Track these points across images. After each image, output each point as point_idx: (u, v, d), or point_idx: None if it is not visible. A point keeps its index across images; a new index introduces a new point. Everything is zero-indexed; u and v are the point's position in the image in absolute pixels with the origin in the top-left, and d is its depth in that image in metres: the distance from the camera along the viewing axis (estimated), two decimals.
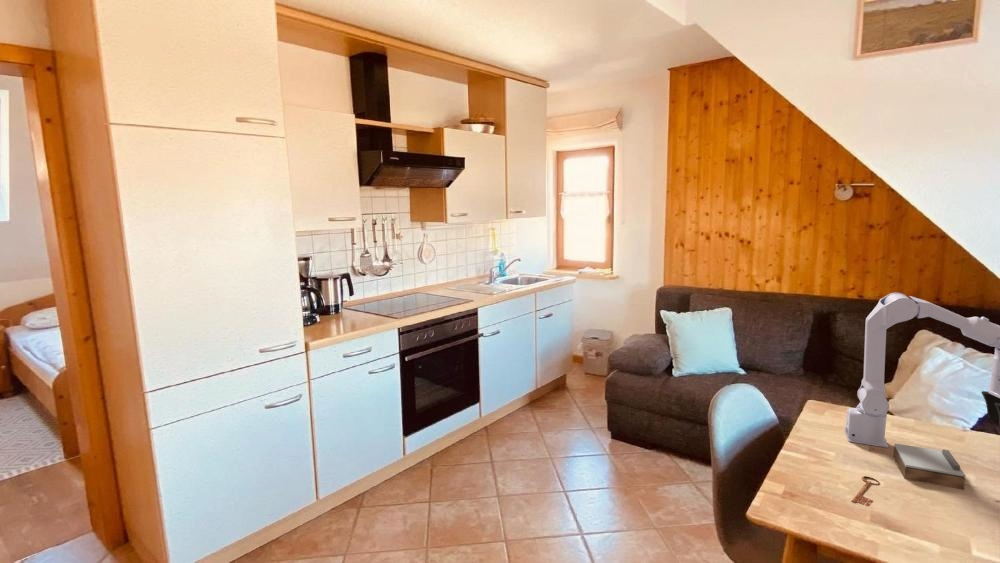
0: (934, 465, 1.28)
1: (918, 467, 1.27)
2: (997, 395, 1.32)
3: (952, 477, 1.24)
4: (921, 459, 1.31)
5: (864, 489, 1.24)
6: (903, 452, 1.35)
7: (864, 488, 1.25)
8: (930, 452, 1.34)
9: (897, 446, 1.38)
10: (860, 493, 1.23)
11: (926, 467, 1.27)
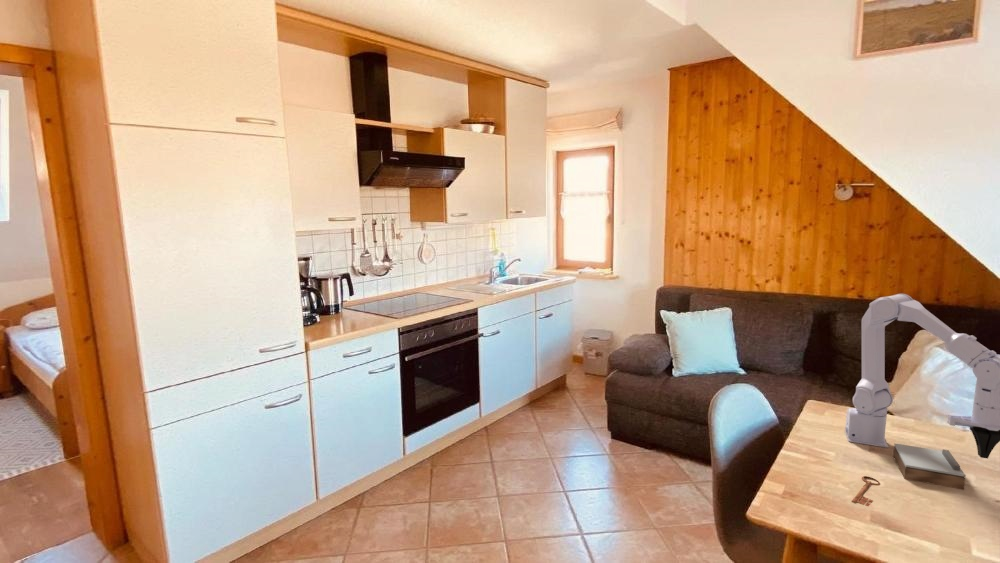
0: (934, 465, 1.28)
1: (918, 467, 1.27)
2: None
3: (952, 477, 1.24)
4: (921, 459, 1.31)
5: (864, 489, 1.24)
6: (903, 452, 1.35)
7: (864, 488, 1.25)
8: (930, 452, 1.34)
9: (897, 446, 1.38)
10: (860, 493, 1.23)
11: (926, 467, 1.27)
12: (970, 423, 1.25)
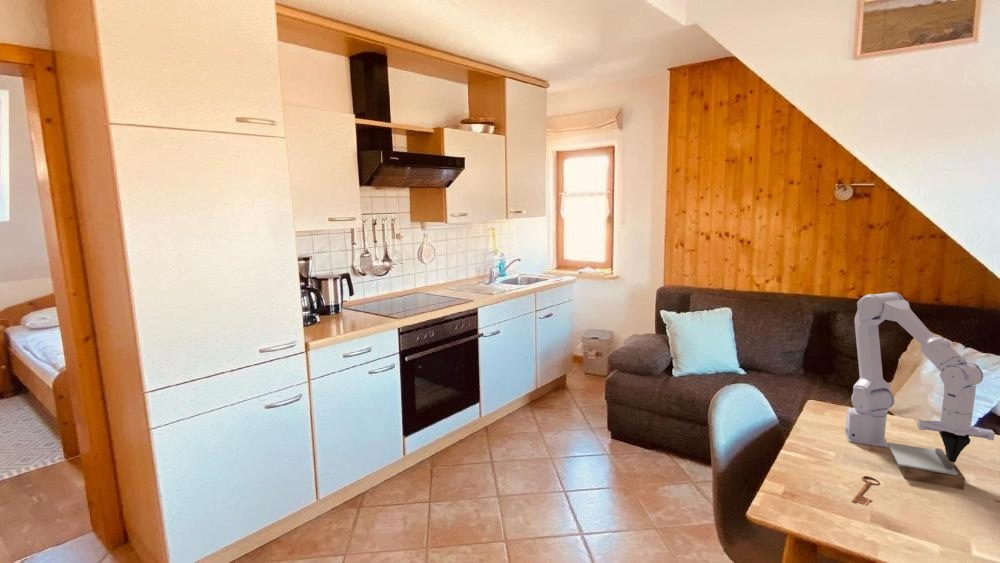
0: (927, 464, 1.28)
1: (911, 466, 1.28)
2: None
3: (952, 477, 1.24)
4: (914, 458, 1.31)
5: (864, 489, 1.24)
6: (896, 451, 1.35)
7: (864, 488, 1.25)
8: (923, 451, 1.35)
9: (891, 445, 1.38)
10: (860, 493, 1.23)
11: (919, 466, 1.28)
12: (938, 428, 1.28)
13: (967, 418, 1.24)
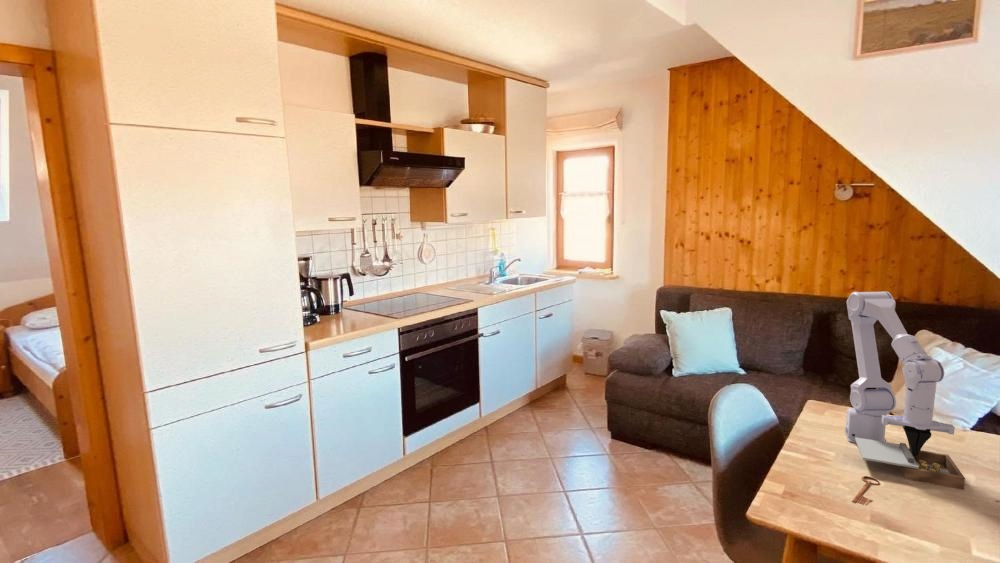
0: (890, 458, 1.32)
1: (874, 460, 1.32)
2: None
3: (952, 477, 1.24)
4: (878, 452, 1.35)
5: (864, 489, 1.24)
6: (862, 445, 1.39)
7: (864, 488, 1.25)
8: (888, 445, 1.38)
9: (857, 440, 1.42)
10: (860, 493, 1.23)
11: (882, 460, 1.31)
12: (901, 422, 1.31)
13: (928, 413, 1.28)
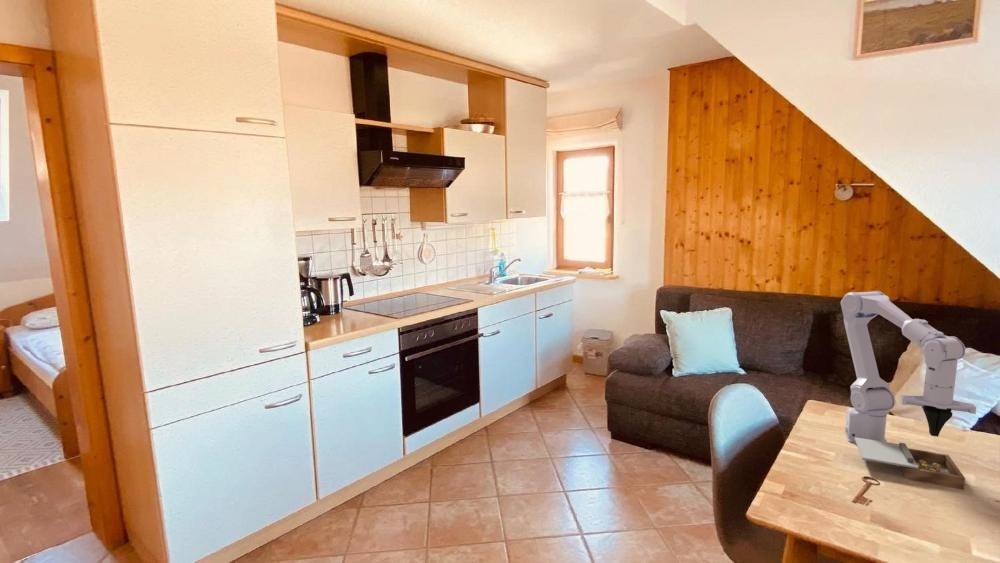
0: (889, 458, 1.32)
1: (874, 459, 1.32)
2: None
3: (952, 477, 1.24)
4: (878, 452, 1.35)
5: (864, 489, 1.24)
6: (862, 445, 1.39)
7: (864, 488, 1.25)
8: (888, 445, 1.38)
9: (857, 440, 1.42)
10: (860, 493, 1.23)
11: (881, 459, 1.31)
12: (921, 402, 1.29)
13: (949, 392, 1.25)
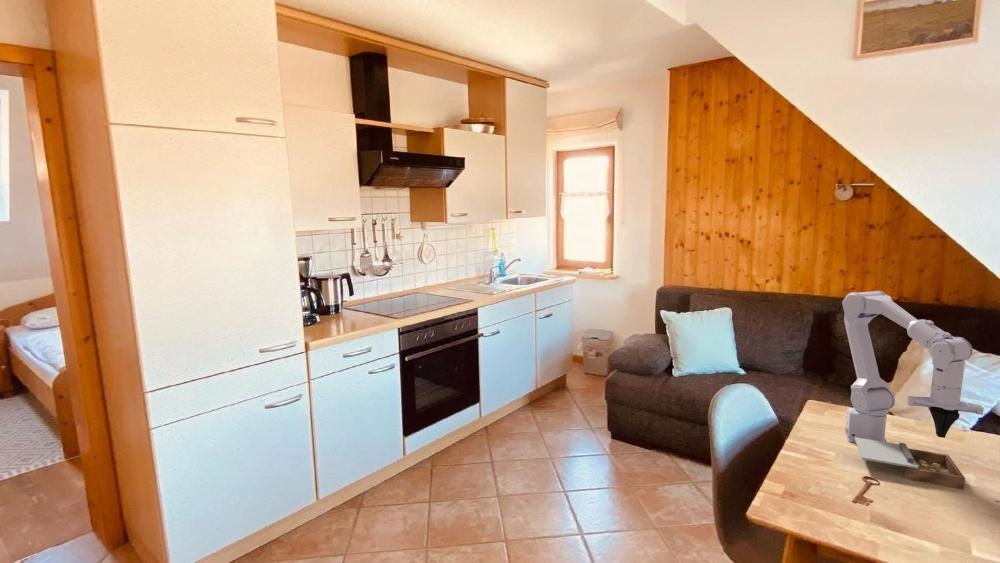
0: (889, 458, 1.32)
1: (874, 459, 1.32)
2: None
3: (952, 477, 1.24)
4: (878, 452, 1.35)
5: (864, 489, 1.24)
6: (862, 445, 1.39)
7: (864, 488, 1.25)
8: (888, 445, 1.38)
9: (857, 440, 1.42)
10: (860, 493, 1.23)
11: (881, 459, 1.31)
12: (928, 403, 1.28)
13: (956, 393, 1.25)
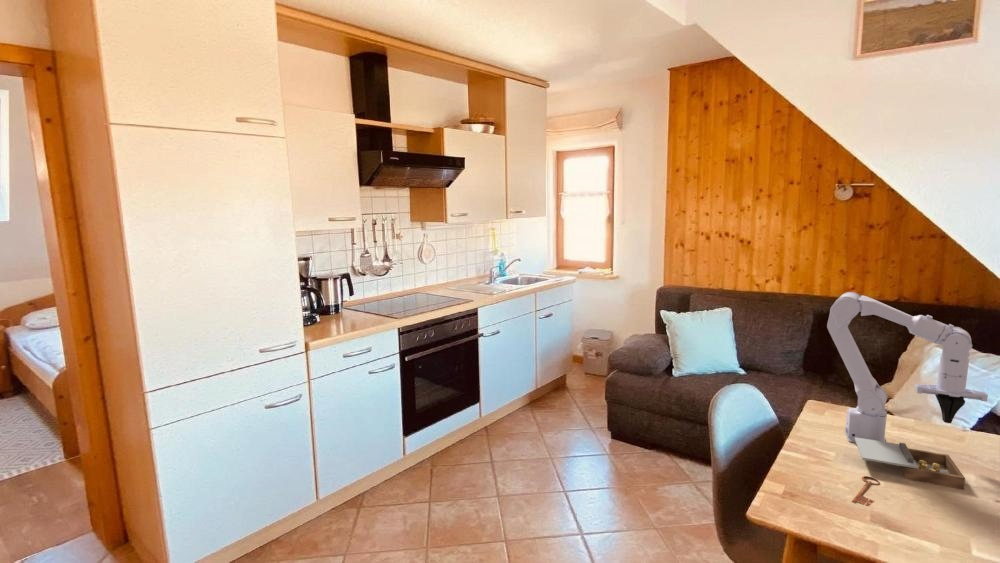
0: (889, 458, 1.32)
1: (874, 459, 1.32)
2: None
3: (952, 477, 1.24)
4: (878, 452, 1.35)
5: (864, 489, 1.24)
6: (862, 445, 1.39)
7: (864, 488, 1.25)
8: (888, 445, 1.38)
9: (857, 440, 1.42)
10: (860, 493, 1.23)
11: (881, 459, 1.31)
12: (935, 391, 1.36)
13: (962, 380, 1.32)
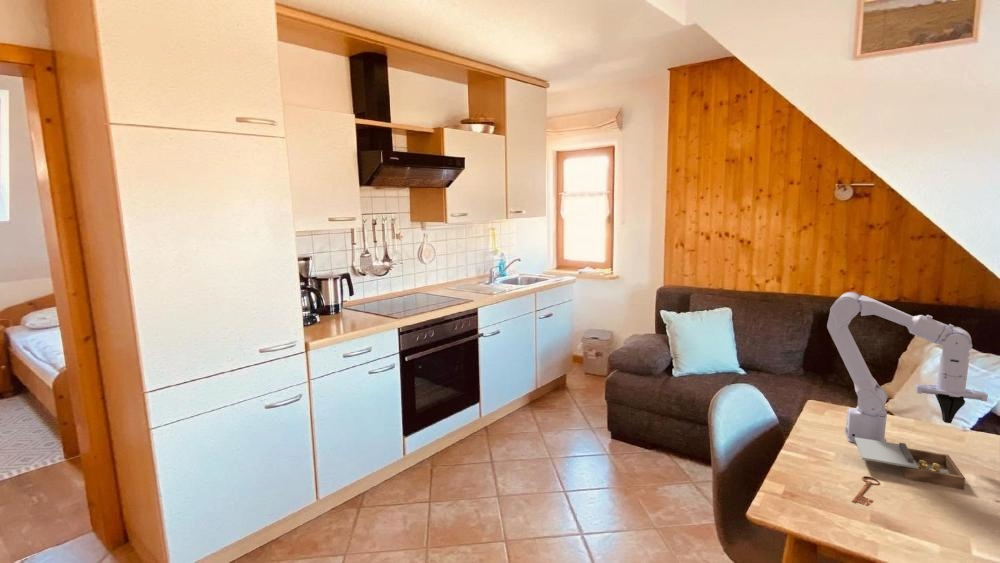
0: (889, 458, 1.32)
1: (874, 459, 1.32)
2: None
3: (952, 477, 1.24)
4: (878, 452, 1.35)
5: (864, 489, 1.24)
6: (862, 445, 1.39)
7: (864, 488, 1.25)
8: (888, 445, 1.38)
9: (857, 440, 1.42)
10: (860, 493, 1.23)
11: (881, 459, 1.31)
12: (935, 391, 1.36)
13: (962, 380, 1.32)
